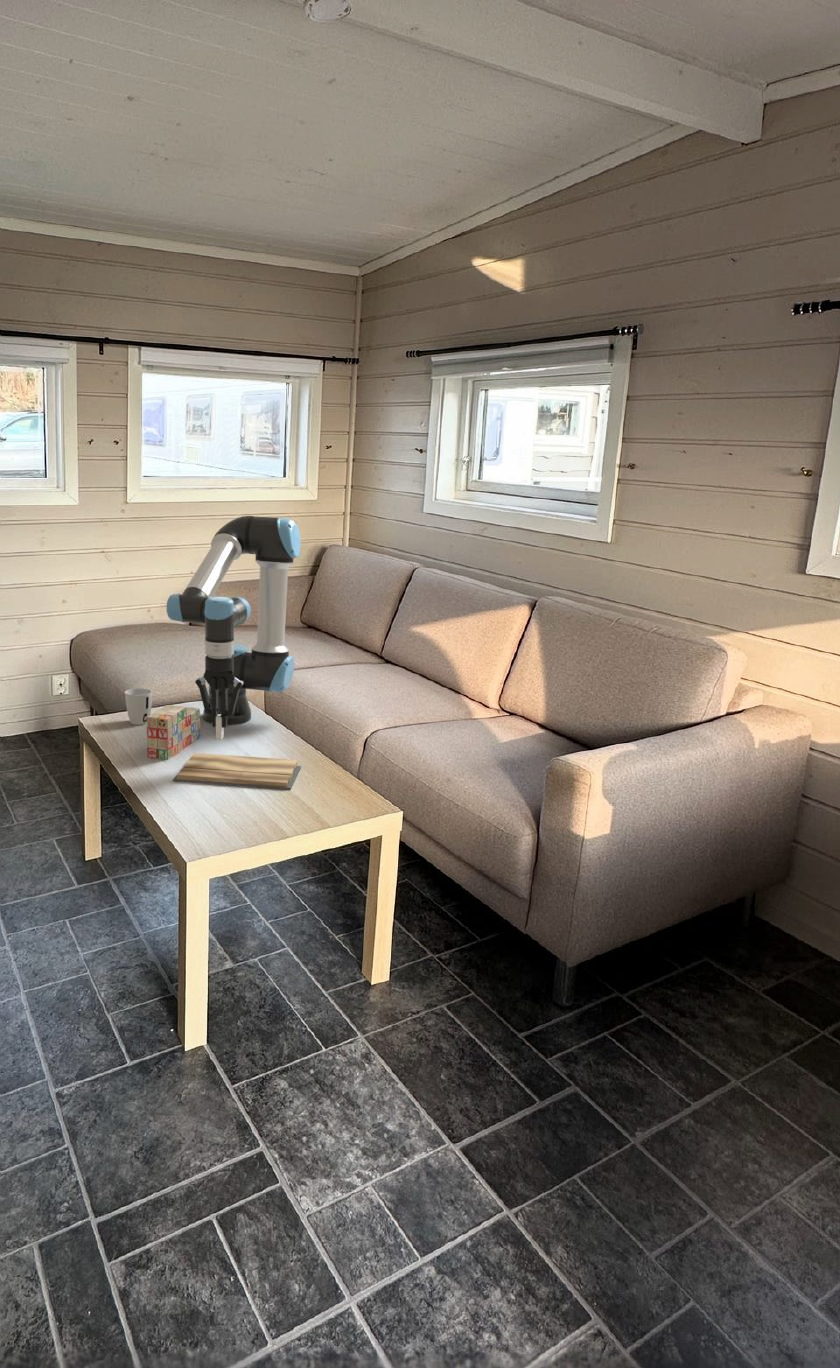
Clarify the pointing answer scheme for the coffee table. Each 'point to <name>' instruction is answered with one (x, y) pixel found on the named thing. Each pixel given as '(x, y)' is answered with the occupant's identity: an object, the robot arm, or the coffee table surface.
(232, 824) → the coffee table surface
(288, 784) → the underlay
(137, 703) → the cup
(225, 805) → the coffee table surface
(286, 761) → the board
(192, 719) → the stack of blocks
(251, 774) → the laid plank
